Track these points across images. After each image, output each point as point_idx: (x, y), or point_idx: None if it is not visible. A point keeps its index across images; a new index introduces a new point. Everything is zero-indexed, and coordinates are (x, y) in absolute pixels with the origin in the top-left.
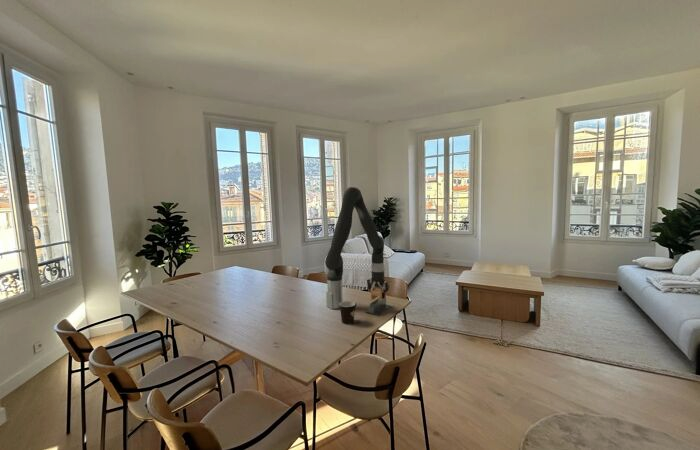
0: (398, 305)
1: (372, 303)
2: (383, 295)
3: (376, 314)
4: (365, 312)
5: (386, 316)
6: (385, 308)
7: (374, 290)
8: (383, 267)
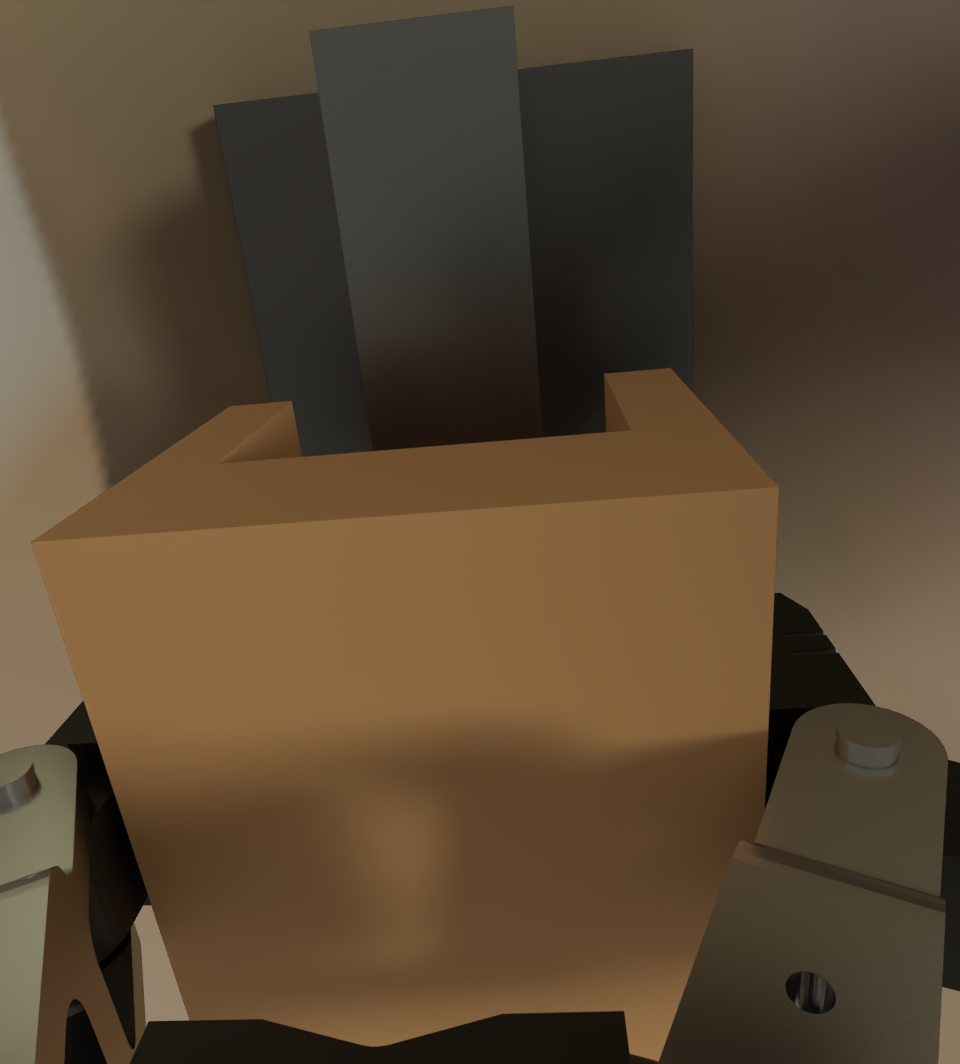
0: None
1: (440, 117)
2: None
3: (302, 96)
4: (680, 56)
5: (51, 192)
6: None
7: (660, 790)
8: None
